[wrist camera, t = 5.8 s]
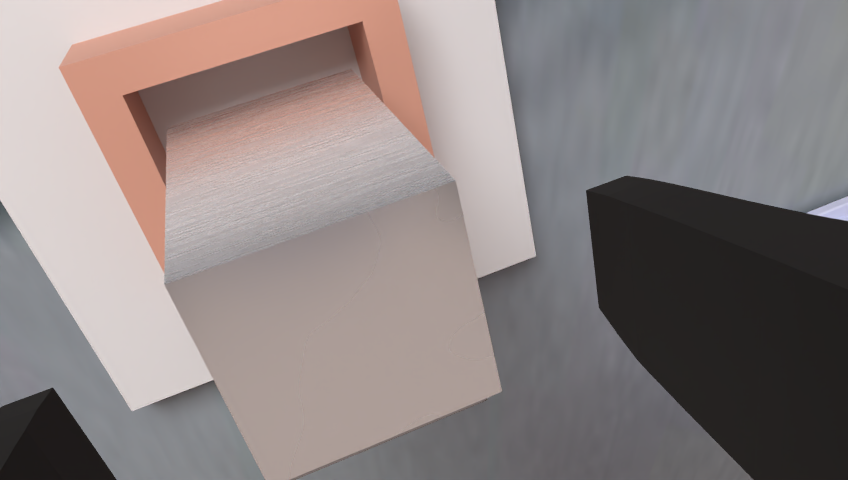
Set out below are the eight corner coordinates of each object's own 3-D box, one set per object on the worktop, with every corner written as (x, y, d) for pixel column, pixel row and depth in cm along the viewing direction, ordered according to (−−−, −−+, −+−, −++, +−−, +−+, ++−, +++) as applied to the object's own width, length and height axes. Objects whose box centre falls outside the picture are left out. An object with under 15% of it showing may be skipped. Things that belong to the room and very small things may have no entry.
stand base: (521, 240, 21) (579, 302, 18) (133, 387, 19) (126, 483, 16) (442, -217, 15) (511, -240, 12) (-143, -68, 13) (-238, -50, 10)
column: (397, 234, 15) (504, 403, 10) (240, 292, 15) (275, 498, 10) (350, 68, 13) (455, 180, 8) (166, 127, 13) (164, 284, 8)
